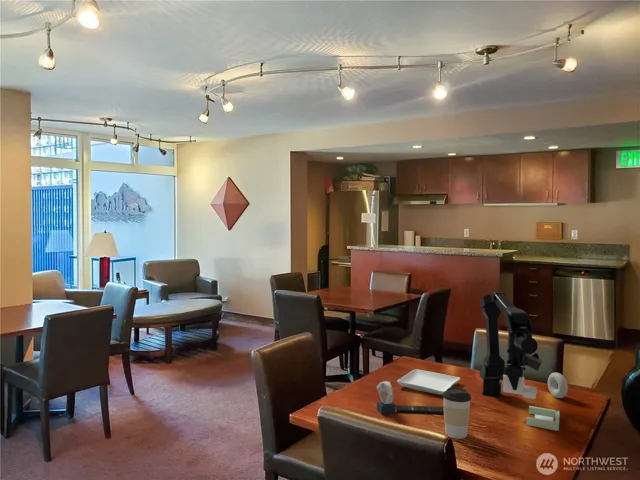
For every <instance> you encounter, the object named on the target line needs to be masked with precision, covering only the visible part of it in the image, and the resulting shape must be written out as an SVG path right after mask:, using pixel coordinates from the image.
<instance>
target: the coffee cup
mask: <svg viewBox="0 0 640 480" xmlns="http://www.w3.org/2000/svg"><path fill="white" fill-rule="evenodd" d="M442 398H443V402H442V403H443V404H442V405H443V406H442V407H444V414H443V419H444V428H445V429H444V431H445V435H446V436H447V435H448V436H447V437H449V438H452V439H458V440H461V439H465V438H467V436H468V429H469V423H470V412H471V400H472V395H471V393H469V391H468V390H467V389H466V388H461V387H454V386H452V387H451V388H448V389H447V390H446V391H444V392H443V394H442Z"/></svg>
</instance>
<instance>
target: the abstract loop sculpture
mask: <svg viewBox="0 0 640 480" xmlns="http://www.w3.org/2000/svg"><path fill="white" fill-rule="evenodd" d="M392 385H393V384H391V382H390V381H386V380H384V381H381V382H379V383H378V384H377V386H376V389H377V391H378V394H379V397H380V401H376V411H377V412H378V413H379V414H380V415H391V414H395V413H396V411H397V410H396V405H397V404H395V403H394V402H393V400H394V388H393V386H392Z"/></svg>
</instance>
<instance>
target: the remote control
mask: <svg viewBox="0 0 640 480" xmlns="http://www.w3.org/2000/svg"><path fill="white" fill-rule="evenodd" d="M395 405H396V410H395V411H396V413H401V414H402V413H403V414H404V413H405V414H428V415H444V406H432V405H431V406H429V405H408V404H407V405H406V404H405V405H404V404H395Z"/></svg>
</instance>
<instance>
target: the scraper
mask: <svg viewBox="0 0 640 480" xmlns="http://www.w3.org/2000/svg"><path fill="white" fill-rule="evenodd" d="M537 391H538V387H537V386H536V387H535V386H530V385H525V376H524V375H523V377H520V378H519V382H518V386H517V390H513V388H512V386H511V383H510V381H509V378H508V376H507V375H503V380H502V393H506V394H507V393H508V394H516V395H521V396H522V397H523V398H526V399H533V400H536V399H537Z"/></svg>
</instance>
